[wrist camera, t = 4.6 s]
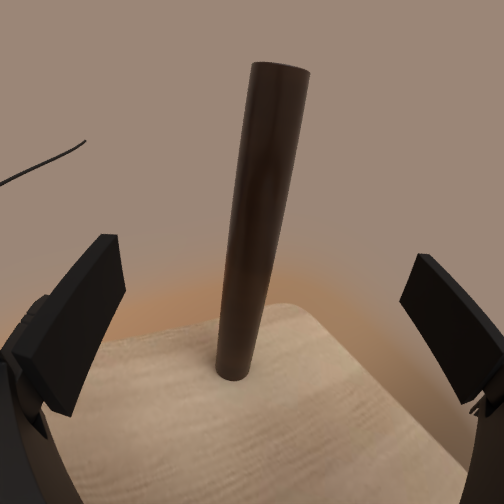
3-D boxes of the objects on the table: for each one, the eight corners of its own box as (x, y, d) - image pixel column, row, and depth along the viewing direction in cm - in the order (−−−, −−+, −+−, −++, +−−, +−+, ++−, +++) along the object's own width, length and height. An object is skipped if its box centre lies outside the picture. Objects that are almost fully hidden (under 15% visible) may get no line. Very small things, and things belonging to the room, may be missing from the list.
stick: (211, 358, 21) (242, 63, 11) (241, 351, 22) (290, 73, 12) (222, 384, 19) (269, 59, 9) (254, 376, 20) (322, 73, 10)
